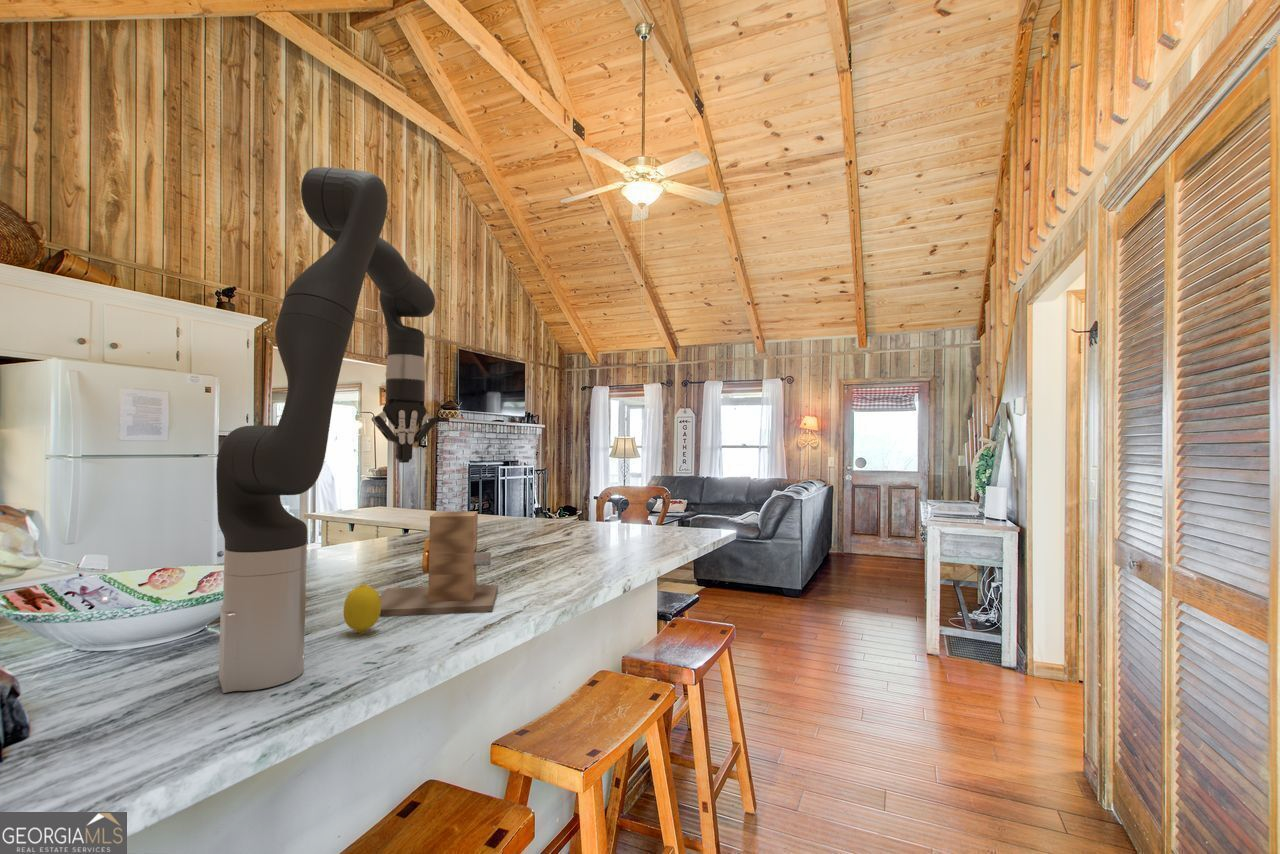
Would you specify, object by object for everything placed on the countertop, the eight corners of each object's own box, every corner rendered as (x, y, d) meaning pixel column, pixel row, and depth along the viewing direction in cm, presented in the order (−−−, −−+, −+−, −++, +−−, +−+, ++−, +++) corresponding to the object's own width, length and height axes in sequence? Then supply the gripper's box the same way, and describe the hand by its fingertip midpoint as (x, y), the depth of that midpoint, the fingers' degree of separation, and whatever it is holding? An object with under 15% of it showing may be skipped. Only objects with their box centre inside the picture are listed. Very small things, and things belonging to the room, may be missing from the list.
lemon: (370, 639, 92) (371, 588, 92) (335, 638, 92) (337, 587, 92) (386, 628, 98) (387, 580, 98) (353, 627, 98) (354, 579, 98)
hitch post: (365, 617, 104) (367, 520, 104) (387, 594, 119) (389, 510, 120) (492, 611, 107) (493, 518, 108) (497, 590, 123) (499, 508, 124)
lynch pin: (422, 575, 111) (422, 540, 111) (426, 570, 116) (427, 536, 116) (489, 573, 113) (490, 539, 113) (491, 568, 118) (492, 535, 118)
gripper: (377, 374, 113) (375, 463, 113) (444, 379, 122) (442, 462, 121) (366, 377, 119) (364, 462, 119) (430, 382, 128) (429, 461, 127)
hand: (404, 462), depth 120 cm, fingers closed
